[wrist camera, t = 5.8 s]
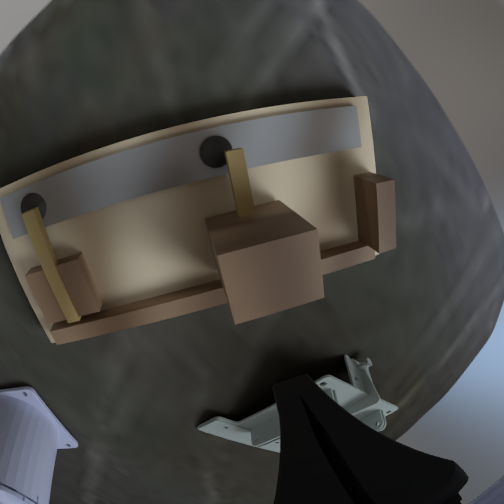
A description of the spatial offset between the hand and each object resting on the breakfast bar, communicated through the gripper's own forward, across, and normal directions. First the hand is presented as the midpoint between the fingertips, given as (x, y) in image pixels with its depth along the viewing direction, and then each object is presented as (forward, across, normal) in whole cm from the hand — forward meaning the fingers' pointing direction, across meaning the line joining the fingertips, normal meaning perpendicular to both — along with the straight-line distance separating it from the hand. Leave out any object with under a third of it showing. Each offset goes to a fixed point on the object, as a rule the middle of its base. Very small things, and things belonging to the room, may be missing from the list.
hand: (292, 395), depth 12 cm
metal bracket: (+10, -3, +14) cm, 18 cm away
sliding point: (+8, -1, -5) cm, 10 cm away
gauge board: (+9, +2, -5) cm, 11 cm away
